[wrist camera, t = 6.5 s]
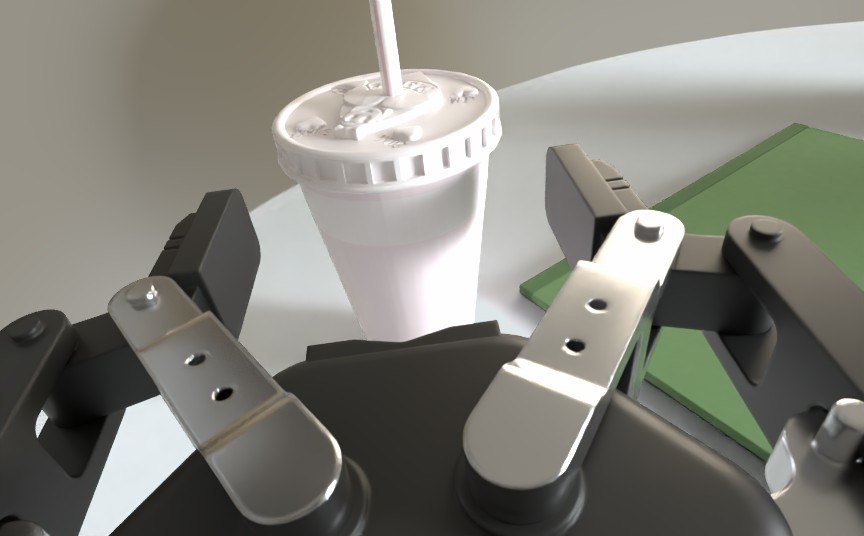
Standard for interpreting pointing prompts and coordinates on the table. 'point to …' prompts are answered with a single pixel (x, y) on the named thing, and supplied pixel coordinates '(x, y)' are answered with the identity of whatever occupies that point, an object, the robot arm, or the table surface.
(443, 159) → the smoothie
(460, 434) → the robot arm
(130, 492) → the table surface
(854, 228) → the green flat rectangular slab
